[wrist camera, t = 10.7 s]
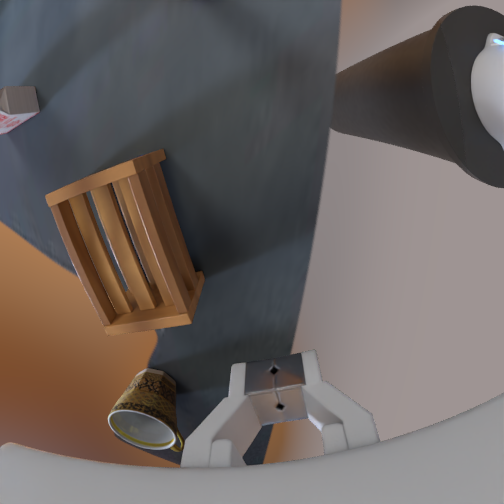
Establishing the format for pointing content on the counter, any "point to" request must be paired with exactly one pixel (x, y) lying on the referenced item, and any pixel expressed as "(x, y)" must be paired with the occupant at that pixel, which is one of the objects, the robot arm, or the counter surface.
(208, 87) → the counter surface
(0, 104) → the tea box
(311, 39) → the counter surface
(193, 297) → the slatted rack
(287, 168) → the counter surface
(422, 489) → the robot arm
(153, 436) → the ceramic cup
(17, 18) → the counter surface
